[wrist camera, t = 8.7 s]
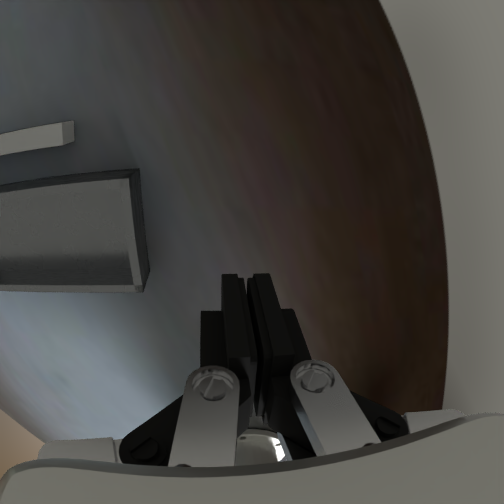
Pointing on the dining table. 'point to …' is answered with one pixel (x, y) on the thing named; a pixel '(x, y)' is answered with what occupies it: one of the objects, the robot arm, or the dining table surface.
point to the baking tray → (74, 234)
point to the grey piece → (37, 137)
